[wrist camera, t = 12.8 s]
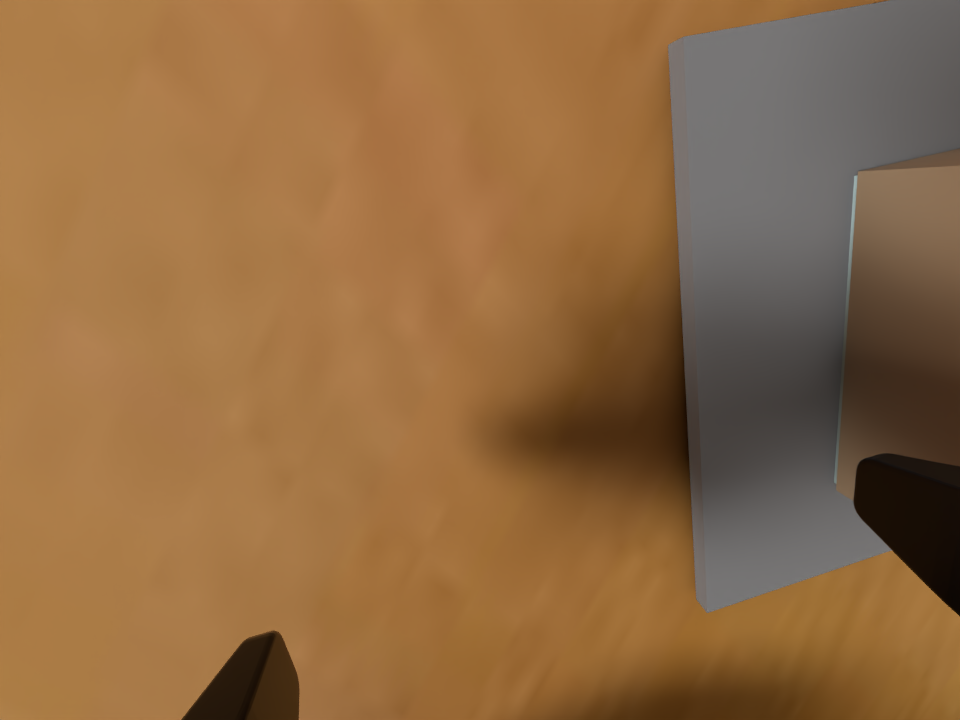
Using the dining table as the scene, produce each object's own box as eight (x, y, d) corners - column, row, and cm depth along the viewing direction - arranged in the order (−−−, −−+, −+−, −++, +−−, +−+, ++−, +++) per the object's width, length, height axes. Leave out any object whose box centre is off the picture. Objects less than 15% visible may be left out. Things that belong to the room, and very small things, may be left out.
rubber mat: (1038, 484, 16) (1058, 493, 15) (696, 599, 14) (707, 613, 14) (1162, -43, 11) (1198, -54, 10) (668, 45, 9) (683, 37, 9)
